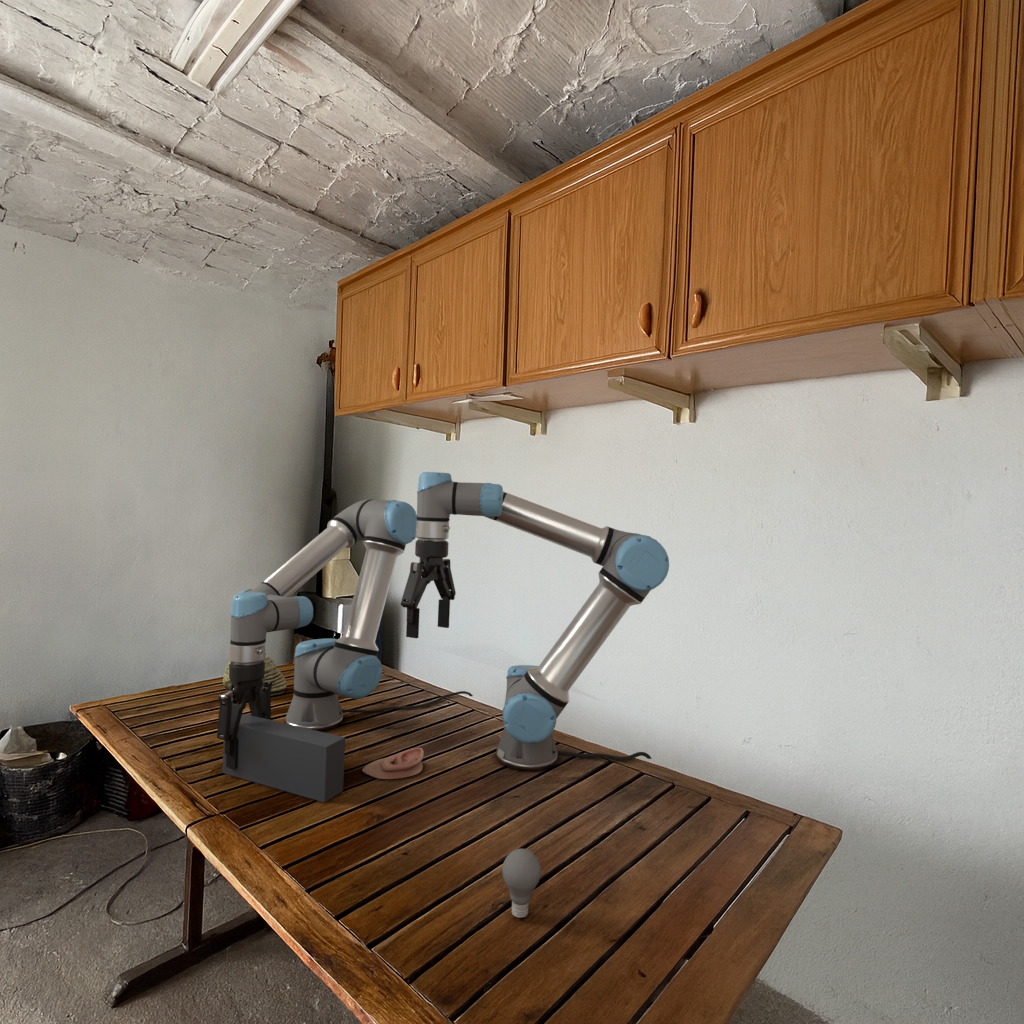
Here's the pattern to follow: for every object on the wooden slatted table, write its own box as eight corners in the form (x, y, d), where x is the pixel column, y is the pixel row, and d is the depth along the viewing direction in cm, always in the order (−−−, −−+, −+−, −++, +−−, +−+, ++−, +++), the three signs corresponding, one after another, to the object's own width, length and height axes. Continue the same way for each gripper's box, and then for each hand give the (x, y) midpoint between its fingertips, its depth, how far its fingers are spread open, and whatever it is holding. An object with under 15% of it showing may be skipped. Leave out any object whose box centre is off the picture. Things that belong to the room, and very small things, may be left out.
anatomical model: (356, 758, 144) (377, 740, 155) (356, 775, 144) (376, 756, 155) (412, 766, 141) (429, 746, 152) (411, 783, 141) (428, 763, 153)
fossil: (218, 695, 195) (220, 647, 195) (278, 685, 208) (279, 640, 207) (228, 703, 189) (230, 653, 188) (289, 692, 201) (290, 645, 201)
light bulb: (499, 902, 101) (501, 840, 101) (536, 902, 101) (539, 840, 101) (501, 928, 95) (504, 862, 95) (541, 927, 95) (544, 862, 95)
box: (222, 772, 143) (224, 721, 143) (243, 763, 148) (245, 713, 148) (324, 802, 131) (326, 746, 131) (343, 790, 137) (345, 737, 137)
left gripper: (225, 673, 134) (221, 781, 134) (290, 654, 151) (286, 750, 152) (199, 668, 137) (196, 774, 137) (266, 650, 154) (263, 744, 155)
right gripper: (416, 543, 132) (412, 644, 132) (471, 538, 155) (468, 625, 155) (386, 540, 135) (382, 639, 135) (445, 536, 158) (441, 621, 158)
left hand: (243, 761), depth 144 cm, fingers closed on box, 6 cm apart
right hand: (428, 632), depth 145 cm, fingers open, 13 cm apart
